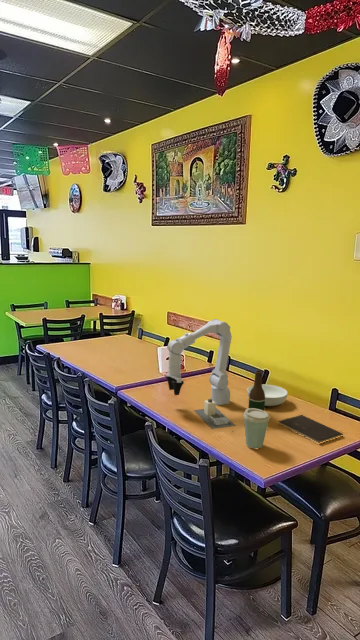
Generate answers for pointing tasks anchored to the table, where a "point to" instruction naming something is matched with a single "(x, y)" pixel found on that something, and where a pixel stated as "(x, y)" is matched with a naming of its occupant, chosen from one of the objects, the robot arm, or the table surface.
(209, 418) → the end holder
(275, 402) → the serving bowl
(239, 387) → the table surface
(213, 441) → the table surface
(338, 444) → the table surface
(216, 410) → the mat
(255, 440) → the disposable coffee cup
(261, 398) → the beer bottle
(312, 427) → the hardcover book
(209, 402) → the cream square bottle
